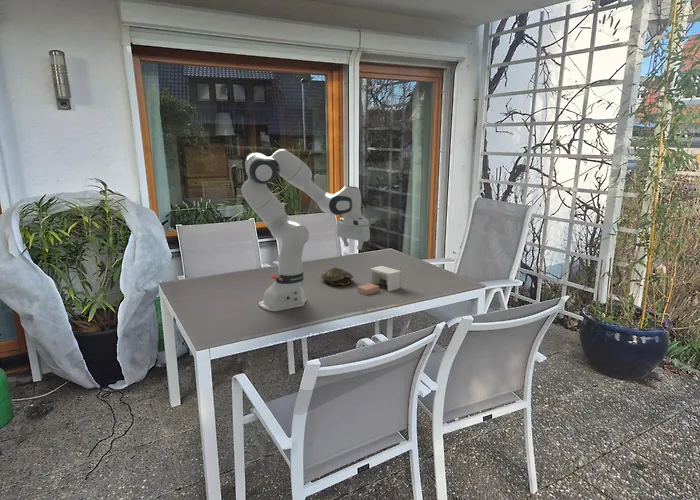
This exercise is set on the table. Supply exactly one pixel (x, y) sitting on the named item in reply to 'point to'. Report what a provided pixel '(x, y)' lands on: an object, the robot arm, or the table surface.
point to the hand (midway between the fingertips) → (352, 247)
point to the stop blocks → (383, 282)
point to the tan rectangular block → (368, 289)
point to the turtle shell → (337, 276)
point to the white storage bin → (386, 277)
